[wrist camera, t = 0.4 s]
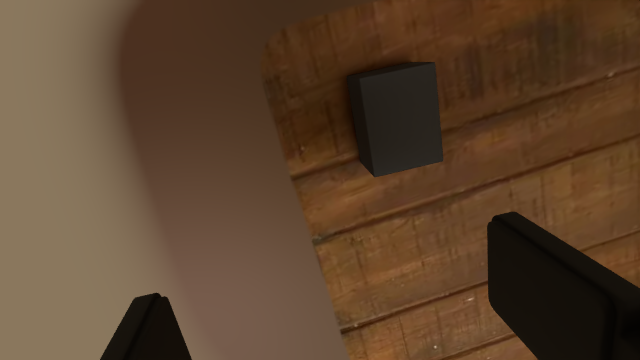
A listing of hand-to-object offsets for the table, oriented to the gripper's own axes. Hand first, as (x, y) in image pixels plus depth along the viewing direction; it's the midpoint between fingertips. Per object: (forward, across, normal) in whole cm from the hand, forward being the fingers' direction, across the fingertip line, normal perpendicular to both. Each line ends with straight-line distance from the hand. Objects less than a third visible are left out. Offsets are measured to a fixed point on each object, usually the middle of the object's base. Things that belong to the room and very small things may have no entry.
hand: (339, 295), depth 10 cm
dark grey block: (+15, -6, -2) cm, 17 cm away
